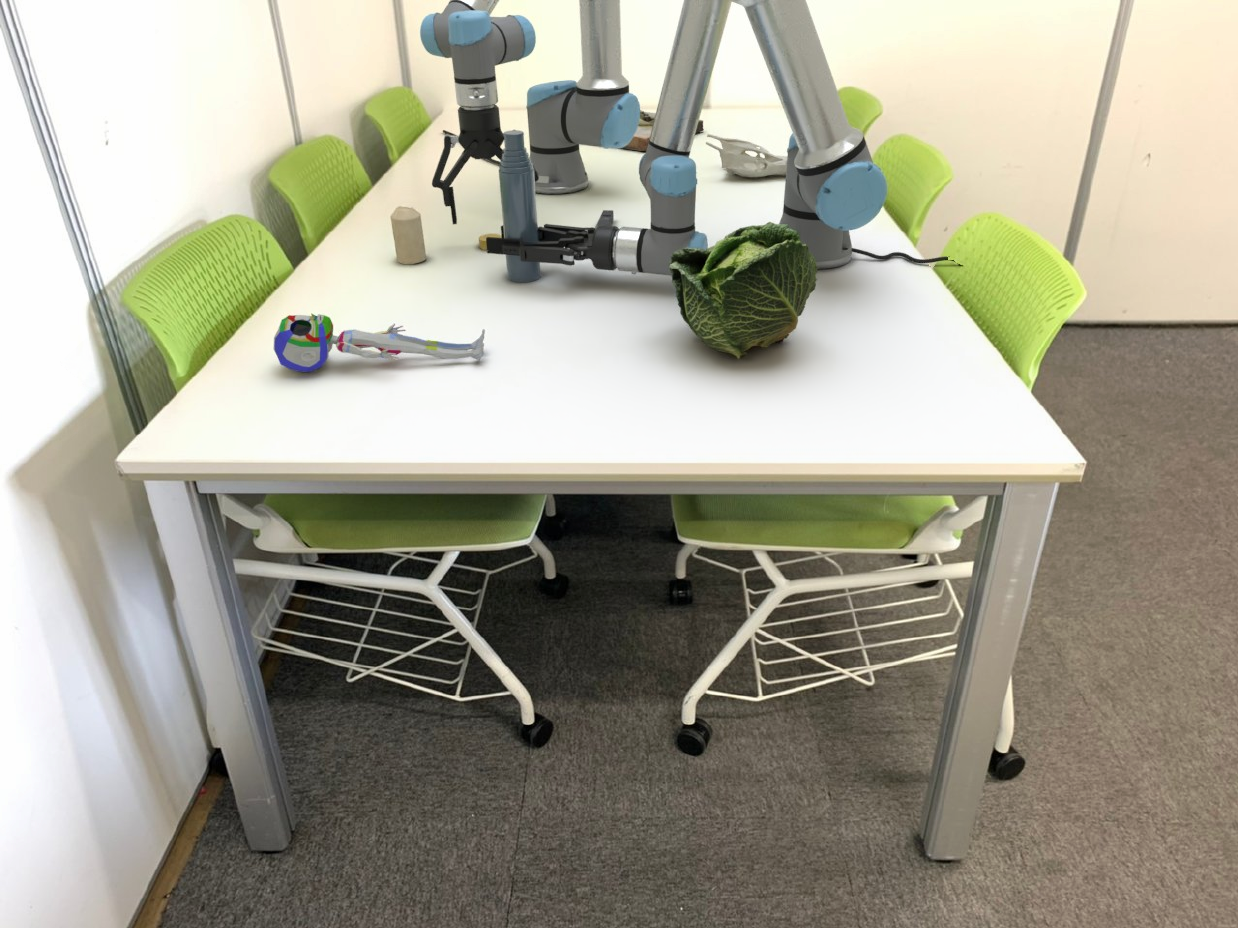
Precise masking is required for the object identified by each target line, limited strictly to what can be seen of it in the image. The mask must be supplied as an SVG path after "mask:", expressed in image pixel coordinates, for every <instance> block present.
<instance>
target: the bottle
mask: <svg viewBox="0 0 1238 928" xmlns="http://www.w3.org/2000/svg"><path fill="white" fill-rule="evenodd" d="M502 133H503V136H504V141H503V144H504V148H502V149H503V154H502V159H501V160H500V159H499V162H501V164H498V181H499V193H500V205H501V216H502V225H503V229H504V238H508V239H520V238H523V242H539V239H538V227H539V225H538V209H537V208H538V207H537V194H536V192H535V176H534V168H533V163H532V162H531V159H530V158H529V157H530V153H529V152H527V148H526V147H525V133H524V131H523V130H519V129H518V130H517V129H512V130H507V131H506V130H505V131H503V132H502ZM505 263H506V264H505V265H506V275H507V279H508V280H509V281H511V282H515V283H529V282H533V281H534V282H535V281H537V280H539V279H540V278H541V277H542V272H541V263H540V262H523V261H520V256H516V255H505Z"/></svg>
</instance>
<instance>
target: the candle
mask: <svg viewBox="0 0 1238 928" xmlns="http://www.w3.org/2000/svg"><path fill="white" fill-rule="evenodd" d="M390 222H391V230H392V235H393V242H394V249H395V255H396V256H395V257H396V260H397V262H398V263H399V264H405V265H413V264H419V263H422V262H424V261H426V259H427V253H426V244H425V239H424V231H423V222H422V215H421V213H420V211H417V210H416V209H415V208H414V207H407V206H402V205H399V206H397V207H395V209H394V211H393V212H392V213H391V215H390Z"/></svg>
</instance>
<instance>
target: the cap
mask: <svg viewBox="0 0 1238 928" xmlns="http://www.w3.org/2000/svg"><path fill="white" fill-rule="evenodd" d="M487 237H495V238H502V235H501V234H499V233H486V234H481V235H480V236H479V237H478V245H479V249H480V250H483V251H487V243H486V238H487Z"/></svg>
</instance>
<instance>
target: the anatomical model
mask: <svg viewBox="0 0 1238 928" xmlns="http://www.w3.org/2000/svg"><path fill="white" fill-rule="evenodd" d="M706 137H707V138H711V139H714V140H717V141H719V142H720V143H721V147H718V146H716V145H714V144H712V143H710V142H708V141H706V142H705V144H706V145H707V146H708V147H711V148H713V149H715V150H716V151H718V153H719V157H720V160H721V168H722V169H725V170H726V172H728V173H729V174H736V175H738V176H739V177H742V178H763V177H766V176H771V175H785V176H786V169H787V156H788V155H786V156H784V155H776V154H774V153H771V152H769V150H768V149H766V148H765V147H763V146H760V145H758V144H755V143H753V142H751V141H747V140H744V139H743V140H742V139H738V138H728V137H727V138H726V137H721V136H718V135H715V134H710V133H708V134H707V135H706ZM746 152H747V153H746ZM748 152H752V153H753V152H754V153H755V154H756V155H755V156H753V155H750V154H748ZM761 154H762V155H763V156H764V157H762V156H761Z"/></svg>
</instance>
